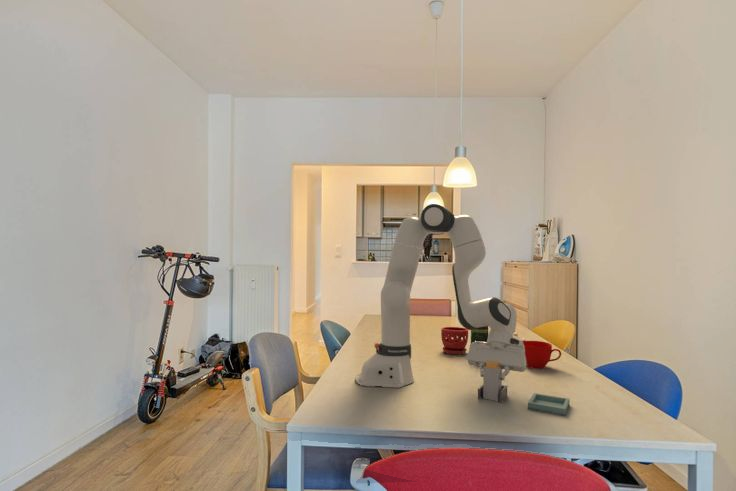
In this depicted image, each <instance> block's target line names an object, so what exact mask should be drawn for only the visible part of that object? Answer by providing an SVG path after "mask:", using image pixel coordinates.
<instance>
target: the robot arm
mask: <svg viewBox="0 0 736 491" xmlns="http://www.w3.org/2000/svg"><path fill="white" fill-rule="evenodd" d="M443 234H446V235H447V236H448V237H449V239H450V241H451V244H452V245H451V246H452V247H453V251H454V262H453V265H452V269H451V272H452V273H451V274H452V281H453V288H454V293H455V298H456V305H457V309H456V310H457V312H456V313H457V320H458V322H459V324H460V325H461V326H462V328H466V329H468V331H471V330H474V329H477V328H480V327H484V326H488V328H490V331H488V339H487V342H479V341H475V342H473V343H471V342H470V345H469V350H468V352H467V354H466V360H467V363H468V364H469V366H470V365H471V366H477V367H479V369H480V377H481V378H483V367H485V366H486V363H487V362H488V361H495V362H499V366H502V370H503V371H502V373H500V376H499V379H500V380H502V381H505V379H506V376H508V375H509V374H510V371H513V372H520V373H524V372H525V371H526V369H527V364H526V356H525V347H524V344H523V342H522V341H521V340H518V339H515V338H513V334H514V333H516V328H517V316H518V315H517V310H516V309H515V307H514V306H513V305H512V304H509V303H508V302H507V303H506V302H504V301H503V300H501V299H499V298H498V297H495V296H493V297H488V298H485V299H481V300H475V301H472V299H471V298H472V297H471V293H470V288H469V287H470V286H469V278H470V275H471V274H472V272H474V271H475V270H476V269H477V268H478V267H479V266H481V264H482V263H483V261H484V259H485V257H486V254H487V253H486V247H485V242H484V240H483V238H482V234H481V232H480V229H479V228H478V225H477V224H476V222H475V220H474V218H473V217H472V216H470V215H467V214H461V215H457V216H456V215H455V214H454V213H452V212H451V211H450V210H449V209H448V208H447V207H445V205H443V204H441V203H437V202H436V203H431V204H428V205H426V206H425V207H424V208H423V209H422V211H421V213H420V216H419V217H414V216H409V217H405V218H404V219H403V220H402V221H401V223H400V225H399V228H398V230H397V233H396V235H395V239H394V242H393V246H392V250H391V254H390V259H389V262H388V266H387V270H386V274H385V279H384V284H383V287H382V289H381V291H380V319H381V320H380V321H381V333H380V334H381V342H380V343H379V342H375V343H374V345H373V346H374V348H375V351H376V353H375V354H373V355H372V356H371V357H369V358H368V359H367V360H365V361H364V362H363V365H362V368H361V372H360V373H358V374H357V375H356V376H355V382H357V383H358V384H357V383H356V384H357V385H359V384H360V385H359V386H361V385H365V386H364V387H375V386H382V387H381V388H396V389H397V388H398V389H399V388H403V387H404V386H407V385H410V384H412V383H414V381H415V378H414V376H413V369H412V364H411V362H412V361H411V358H412V344H411V293H412V287H413V284H414V281H415V278H416V273H417V271H418V267H419V263H420V258H421V254H422V251H423V246H424V242H425V239H426V238H427V236H434V235H435V236H436V235H437V236H438V235H443Z"/></svg>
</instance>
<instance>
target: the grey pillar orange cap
mask: <svg viewBox="0 0 736 491" xmlns="http://www.w3.org/2000/svg"><path fill="white" fill-rule="evenodd" d="M500 373H503V369H502V366H499V362H495V361H488V362H487V363H486V366H485V367H483V377H482V378H483V383H482V384H483V396H482V398H483V399H485V400H492V401H497V402H498V401H499V392H500V391H501V390H502V385H503V382H502V381H503V380H500V379H499V376H500Z"/></svg>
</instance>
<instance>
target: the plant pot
mask: <svg viewBox="0 0 736 491" xmlns="http://www.w3.org/2000/svg"><path fill="white" fill-rule="evenodd" d="M440 331H441V333H440V334H441V342H442V345H443V347H442V351H443V352H444V353H447V354H450V355H454V356H455V355H462V354H465V353H466V352H467V348H466V347H467V345H468V340H469V330H468V329H466V328H464V327H460V326H459V327H458V326H444V327H442V328H441V330H440Z"/></svg>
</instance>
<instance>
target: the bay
mask: <svg viewBox="0 0 736 491" xmlns="http://www.w3.org/2000/svg"><path fill="white" fill-rule="evenodd" d="M507 397H508V385H503V384H502V390H501V391H500V392H499V402H498V403H500V404H503V402H504V401H505V400H506V399H507ZM482 398H483V383H482V384H480V386H479V387H477V400H480V399H482Z"/></svg>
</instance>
